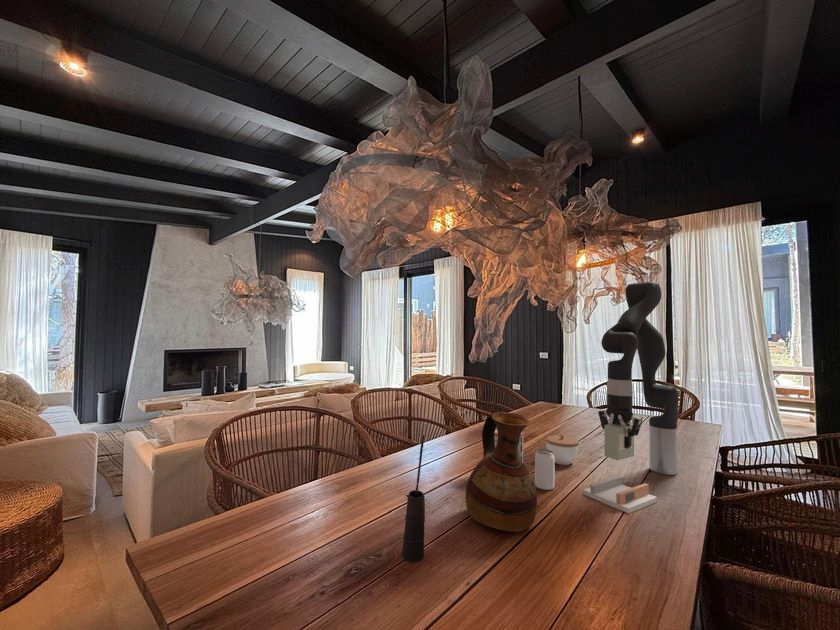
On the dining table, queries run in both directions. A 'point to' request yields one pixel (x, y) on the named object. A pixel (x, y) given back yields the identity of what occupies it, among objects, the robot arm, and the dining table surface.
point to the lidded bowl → (562, 448)
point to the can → (544, 469)
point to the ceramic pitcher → (502, 478)
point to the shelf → (621, 494)
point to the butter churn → (414, 522)
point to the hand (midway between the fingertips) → (619, 445)
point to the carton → (616, 443)
